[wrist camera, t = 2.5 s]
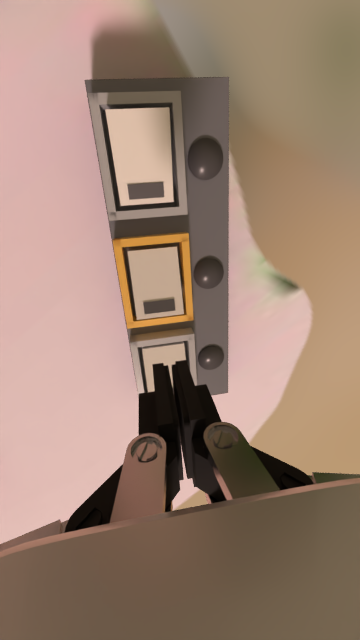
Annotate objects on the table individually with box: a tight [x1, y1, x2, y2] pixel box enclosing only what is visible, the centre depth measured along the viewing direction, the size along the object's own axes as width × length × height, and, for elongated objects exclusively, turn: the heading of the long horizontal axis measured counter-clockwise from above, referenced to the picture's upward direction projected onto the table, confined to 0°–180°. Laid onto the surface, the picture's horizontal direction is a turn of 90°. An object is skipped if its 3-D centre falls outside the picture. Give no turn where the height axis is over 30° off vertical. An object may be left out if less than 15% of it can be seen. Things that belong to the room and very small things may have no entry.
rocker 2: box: [142, 341, 186, 393], centre depth 25 cm, size 6×4×1 cm
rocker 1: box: [105, 107, 174, 206], centre depth 18 cm, size 6×4×1 cm
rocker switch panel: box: [85, 77, 229, 397], centre depth 24 cm, size 28×10×4 cm, turn 4°
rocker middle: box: [128, 247, 184, 320], centre depth 22 cm, size 6×4×1 cm
